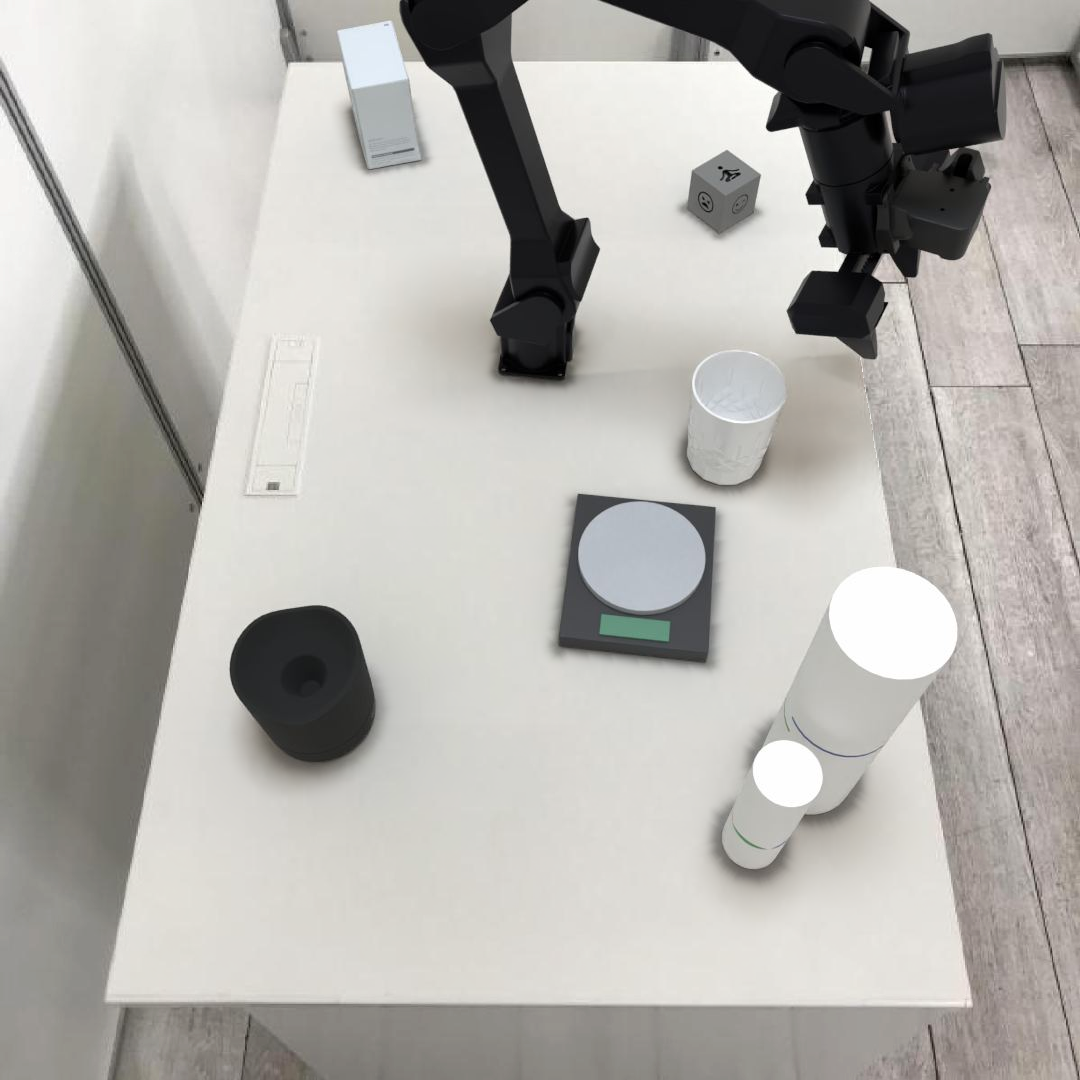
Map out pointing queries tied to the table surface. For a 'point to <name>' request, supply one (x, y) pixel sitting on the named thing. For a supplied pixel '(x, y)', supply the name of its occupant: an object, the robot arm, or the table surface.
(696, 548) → the scale
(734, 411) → the white cup
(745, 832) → the tube
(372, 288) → the table surface
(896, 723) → the cylindrical container
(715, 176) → the dice cube
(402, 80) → the cosmetics box
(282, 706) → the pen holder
